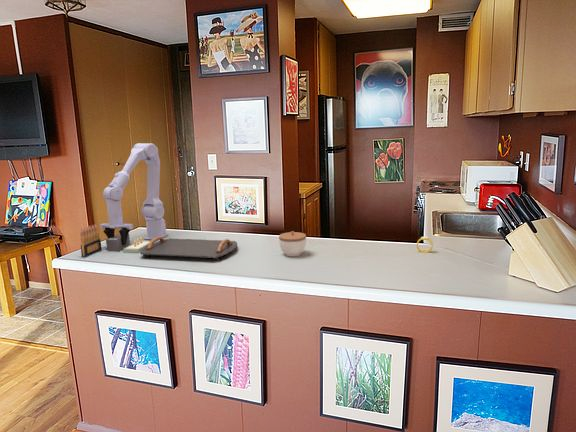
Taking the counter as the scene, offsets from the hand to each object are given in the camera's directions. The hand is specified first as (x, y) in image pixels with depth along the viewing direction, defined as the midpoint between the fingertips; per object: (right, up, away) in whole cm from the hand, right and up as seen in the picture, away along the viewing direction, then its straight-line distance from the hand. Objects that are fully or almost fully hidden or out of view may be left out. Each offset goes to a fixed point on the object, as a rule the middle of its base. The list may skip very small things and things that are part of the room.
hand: (118, 244), depth 198 cm
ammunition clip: (-9, -4, -7) cm, 12 cm away
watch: (+128, -2, -20) cm, 129 cm away
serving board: (+34, -3, -10) cm, 35 cm away
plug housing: (0, -1, 0) cm, 1 cm away
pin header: (+9, -1, -2) cm, 10 cm away
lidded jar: (+76, -3, -17) cm, 78 cm away
